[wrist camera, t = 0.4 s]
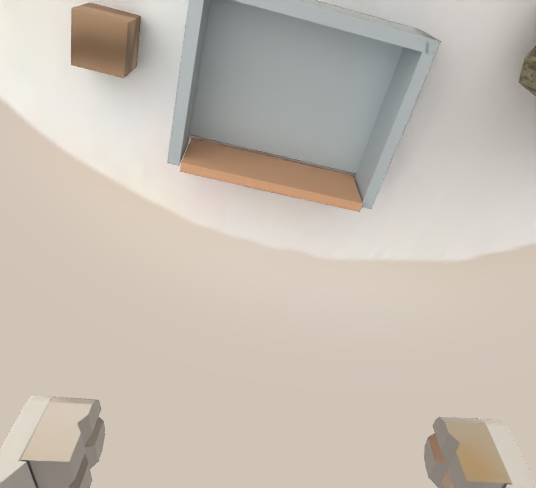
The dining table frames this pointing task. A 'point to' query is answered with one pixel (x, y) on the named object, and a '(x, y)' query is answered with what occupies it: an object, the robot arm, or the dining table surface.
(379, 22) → the blue-grey open tray
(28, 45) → the dining table surface
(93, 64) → the walnut block
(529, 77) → the tabletop clock
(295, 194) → the panel
